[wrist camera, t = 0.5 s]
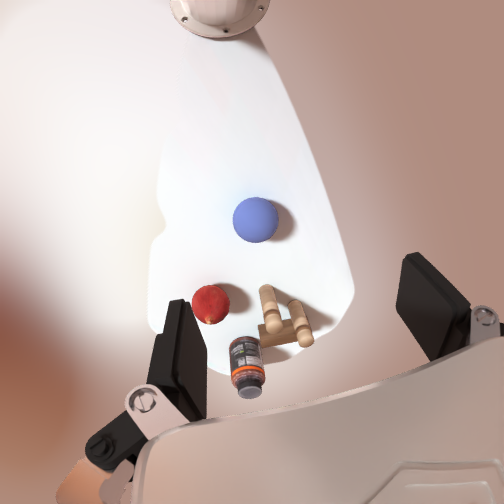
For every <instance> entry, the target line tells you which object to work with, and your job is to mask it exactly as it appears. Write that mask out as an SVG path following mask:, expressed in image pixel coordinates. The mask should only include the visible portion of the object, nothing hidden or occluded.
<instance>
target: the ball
mask: <svg viewBox="0 0 504 504" xmlns="http://www.w3.org/2000/svg"><path fill="white" fill-rule="evenodd" d="M233 225H234V229H235V231H236V232H237V234H238V235H239V236H240V237H241V238H242V239H244V240H246V241H248V242H252V243H259V242H263V241H266V240H267V239H269V238H270V237H271V236H272V235H273V234H274V233H275V231H276V229H277V226H278V214H277V211H276V209H275V207H274V206H273V205H272V204H271V203H270V202H269V201H267V200H265V199H263V198H258V197H253V198H248V199H246V200H244V201H242V202H241V203H240V204H239V205H238V206H237V208H236V209H235V211H234V214H233Z"/></svg>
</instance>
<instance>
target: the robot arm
mask: <svg viewBox="0 0 504 504" xmlns="http://www.w3.org/2000/svg"><path fill="white" fill-rule="evenodd" d="M269 3H270V0H170V7H171V11H172V13H173V15H174V17H175V19H176V20H177V21H178V23H179V24H180V25H181V26H183V27H184V28H185V29H186V30H188V31H190V32H192V33H194V34H197V35H200V36H205V37H210V38H222V37H230V36H234V35H238V34H240V33H243V32H245V31H247V30H249V29H250V28H252V27H253V26H255V25H256V24H257V23H258V22H259V21H260V20H261V19H262V18H263V16H264V15H265V13H266V11H267V9H268V6H269ZM258 9H262V11H260V10H258ZM184 20H187V22H184ZM225 30H227V31H228V33H225V32H224V31H225ZM470 305H471V304H470V303H469V302H468V301H467V300H466V298H465V297H464V296H463V295H462V294H461V293H460V292H459V291H458V290H457V289H456V288H455V287H454V286H453V285H452V284H451V283H450V282H449V281H448V280H447V279H446V278H445V277H444V276H443V275H442V274H441V273H440V272H439V271H438V270H437V269H436V268H435V267H434V266H433V265H432V264H431V263H430V262H429V261H427V260H426V259H425V258H424V257H423V256H422V255H421V254H420V253H419V252H415V253H411V254H407V255H406V257H405V258H404V259H403V262H402V269H401V276H400V283H399V289H398V295H397V301H396V310H397V313H398V314H399V315H400V317H401V318H402V320H403V321H404V323H405V324H406V326H407V327H408V328H409V330H410V331H411V333H412V334H413V336H414V337H415V339H416V340H417V342H418V343H419V345H420V346H421V348H422V349H423V351H424V352H425V354H426V356H427V357H428V359H429V360H430V362H429V363H427V364H425V365H422V366H420V367H417V368H415V369H412V370H409V371H407V372H404V373H402V374H399V375H396V376H393V377H390V378H387V379H385V380H382V381H379V382H376V383H373V384H369V385H367V386H363V387H360V388H357V389H353V390H350V391H346V392H343V393H339V394H336V395H332V396H328V397H324V398H320V399H316V400H312V401H307V402H304V403H299V404H294V405H289V406H284V407H279V408H274V409H269V410H262V411H257V412H251V413H245V414H239V415H231V416H224V417H218V418H211V419H206V414H207V413H206V412H207V411H206V410H207V409H206V405H207V402H206V401H207V348H206V345H205V342H204V340H203V337H202V334H201V332H200V329H199V327H198V324H197V321H196V319H195V316H194V313H193V310H192V308H191V305H190V303H189V302H185V300H184V299H179V300H173V301H170V302H169V306H168V311H167V316H166V320H165V325H164V330H163V333H162V334H157V336H156V338H155V343H154V348H153V353H152V357H151V362H150V367H149V372H148V377H147V383H146V384H143V385H139V386H137V387H135V388H133V389H132V390H131V391H130V392H129V394H128V395H127V396H126V400H125V407H126V411H124V412H123V413H122V414H120V415H119V416H118V417H117V418H115V419H114V420H113V421H112V422H110V423H109V424H107V425H106V426H105V427H104V428H102V429H101V430H100V431H98V432H97V433H96V434H94V435H93V436H92V437H91V438H90V439H89V440H88V442H87V443H86V447H85V452H86V453H85V454H86V457H85V458H84V459H83V460H82V459H80V460H79V461H78V462H77V463H76V465H75V466H74V467H73V469H72V470H71V471H70V473H69V474H68V476H67V477H66V478H65V480H64V481H63V482H62V483H61V485H60V486H59V488H58V489H57V492H56V500H57V503H58V504H120V499H121V497H122V495H123V493H124V492H125V489H124V487H125V486H126V484H127V483H128V482H132V481H133V482H132V491H131V504H504V324H503V323H500V322H499V318H498V315H497V313H496V312H495V311H494V310H493V309H491V308H490V307H487V306H482V305H480V306H476V307H474V308H473V310H471V309H470ZM202 419H204V420H202Z"/></svg>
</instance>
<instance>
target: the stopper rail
mask: <svg viewBox="0 0 504 504" xmlns="http://www.w3.org/2000/svg"><path fill="white" fill-rule="evenodd" d="M306 318H307V316H306ZM307 321H308V319H307ZM282 324H283V329H282V331H281V332H279V333H276V334H270V333H268V332H267V330H266V325H265V324H261V325H258V330H259V336H260V342H261V347H262V348H266V347H271V346H277V345H282V344H287V343H292V342H297V341H298V339H297V337H296V333H295V329H294V326H293V322H292V319H287V320H282ZM308 324H309V322H308ZM309 326H310V324H309ZM310 328H311V327H310ZM311 331H312V330H311Z"/></svg>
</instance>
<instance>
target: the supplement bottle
mask: <svg viewBox="0 0 504 504" xmlns="http://www.w3.org/2000/svg"><path fill="white" fill-rule="evenodd" d="M229 354H230V368H231V380H232V384H233V385H234V386H235V387H236V388H237V389H238V394H239V396H240V397H242V398H245V399H252V398H256V397H258V396H260V395H261V393H262V389H261V388H262V387H261V386H262V385H263V384H264V382H265V372H264V367H263V361H262V354H261V350H260V345H259V343H258V341H257V340H255V339H253V338H250V337H240V338H237V339H235V340H234V341H233V342H232V343H231V344H230V347H229Z"/></svg>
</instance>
